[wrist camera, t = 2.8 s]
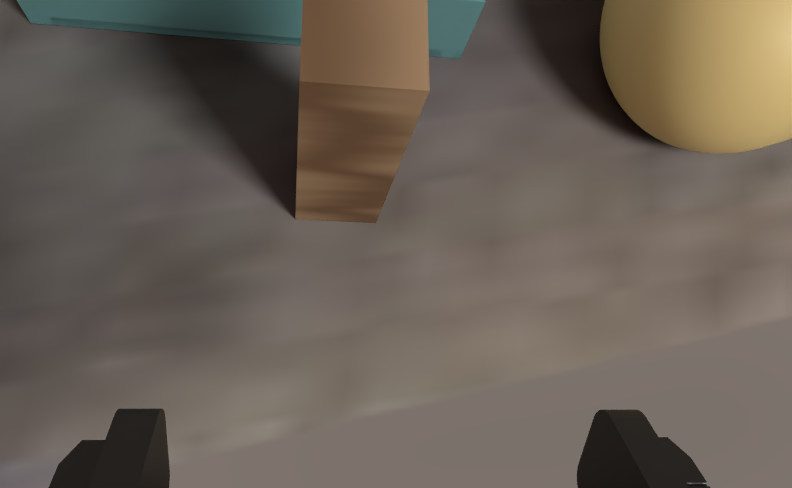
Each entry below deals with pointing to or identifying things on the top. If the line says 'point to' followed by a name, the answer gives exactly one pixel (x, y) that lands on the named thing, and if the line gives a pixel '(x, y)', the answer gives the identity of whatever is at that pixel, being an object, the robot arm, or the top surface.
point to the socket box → (236, 19)
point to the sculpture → (702, 70)
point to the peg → (357, 102)
